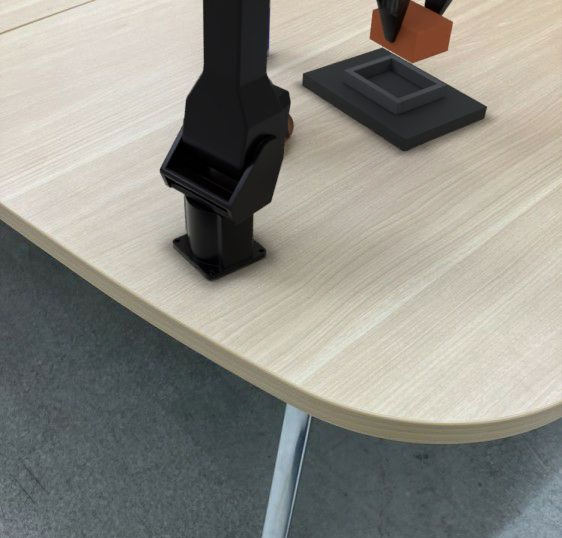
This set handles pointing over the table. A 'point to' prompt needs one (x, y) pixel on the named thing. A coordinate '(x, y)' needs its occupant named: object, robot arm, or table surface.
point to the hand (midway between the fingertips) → (409, 34)
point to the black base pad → (394, 98)
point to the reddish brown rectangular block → (415, 33)
